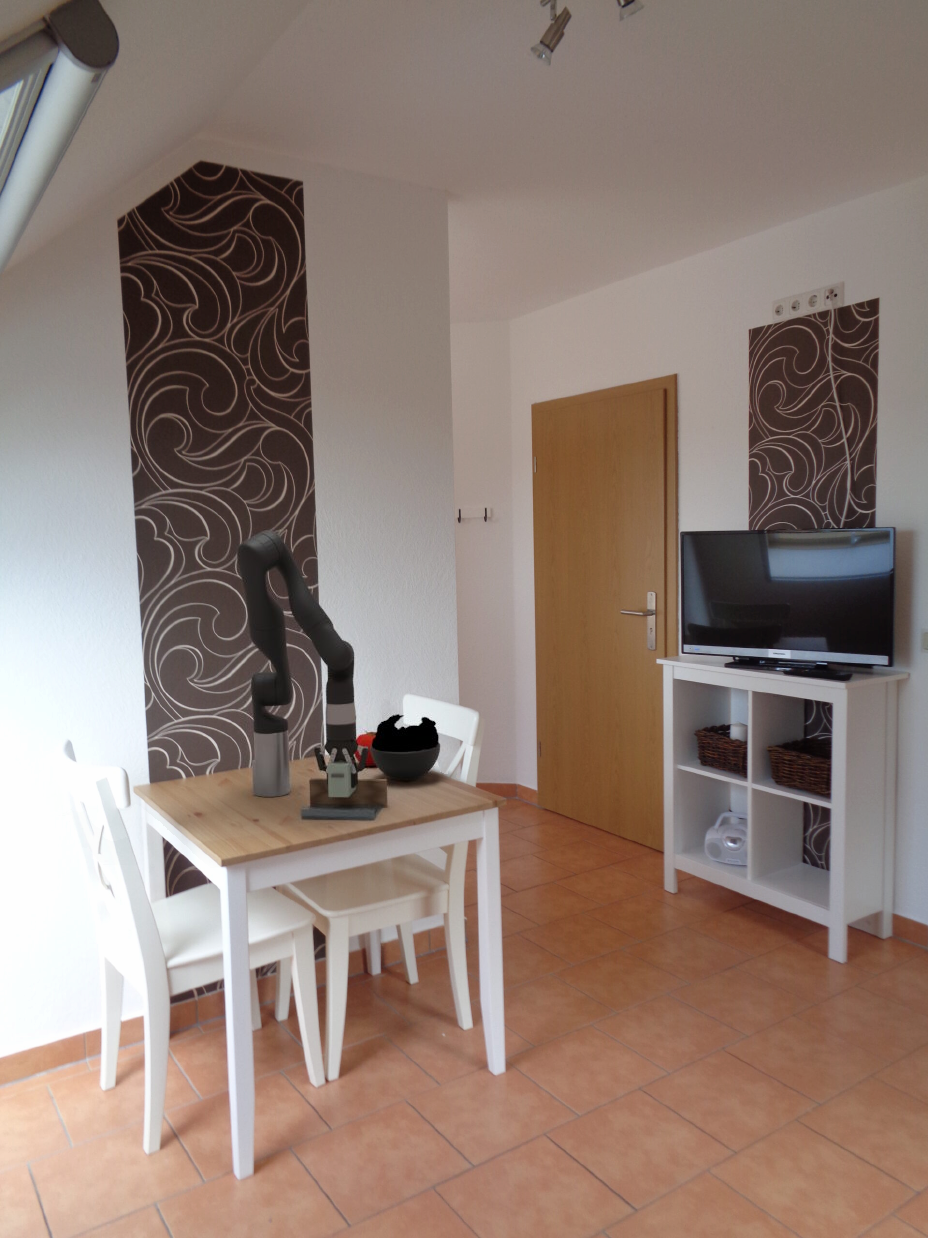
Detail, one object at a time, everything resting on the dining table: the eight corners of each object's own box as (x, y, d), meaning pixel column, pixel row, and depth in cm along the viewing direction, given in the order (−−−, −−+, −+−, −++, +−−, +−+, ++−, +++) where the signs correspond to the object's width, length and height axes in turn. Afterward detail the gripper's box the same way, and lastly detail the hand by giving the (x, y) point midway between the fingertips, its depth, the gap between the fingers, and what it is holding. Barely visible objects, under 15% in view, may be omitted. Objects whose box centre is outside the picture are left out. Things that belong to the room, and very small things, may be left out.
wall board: (310, 806, 234) (309, 779, 233) (311, 805, 235) (310, 778, 235) (386, 807, 231) (385, 780, 231) (387, 806, 233) (386, 779, 232)
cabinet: (327, 797, 223) (326, 765, 223) (337, 788, 232) (336, 757, 231) (347, 798, 223) (346, 766, 222) (356, 788, 231) (355, 758, 231)
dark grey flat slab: (301, 819, 223) (301, 809, 222) (313, 806, 234) (313, 797, 233) (373, 820, 221) (373, 810, 220) (382, 807, 231) (382, 798, 231)
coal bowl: (358, 778, 262) (356, 714, 260) (416, 768, 273) (414, 706, 272) (395, 792, 246) (393, 724, 244) (454, 780, 257) (453, 715, 256)
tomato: (358, 760, 285) (357, 727, 285) (394, 760, 284) (393, 727, 283) (350, 769, 274) (349, 735, 273) (387, 769, 272) (386, 735, 272)
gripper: (308, 723, 224) (310, 790, 225) (365, 723, 222) (367, 791, 223) (317, 717, 231) (319, 783, 232) (372, 717, 229) (373, 784, 231)
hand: (342, 787), depth 228 cm, fingers closed on cabinet, 5 cm apart
